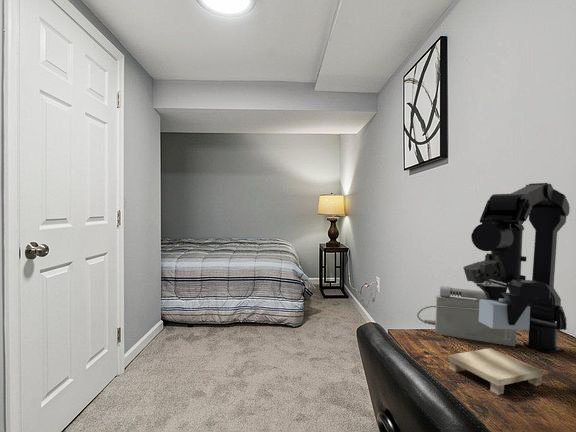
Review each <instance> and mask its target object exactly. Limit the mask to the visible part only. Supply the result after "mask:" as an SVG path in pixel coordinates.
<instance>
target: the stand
mask: <svg viewBox="0 0 576 432" xmlns="http://www.w3.org/2000/svg"><path fill="white" fill-rule="evenodd" d="M447 358H448V359H447V361H448V362H449V370H451V371H452V372H455V373H457V372H461V371H462V369H464V370H466V371H468V372H470V373H472V374H474V375H476V376H478V377H479V378H482V379H483V380H486V381H487V382H489V383H490V390H489V391H490V392H492V393H493V394H495V395H497V396H500V395H504V393H505V386H506V385H510V384H514V383H519V382H523V381H527V383H529V384H531V385H533V386H535V387H538V386H541V385H542V381H543V377H544V370H543V369H541V368H539V367H536V366H534V365H531V364H529V363H527V362H524V361H522V360H519V359H517V358H515V357H512V356H510V355H507V354H506V353H503V352H500V351H498V350H496V349H493V348H490V347H488V348H482V349H478V350H476V349H475V350H472V351H471V350H470V351H466V352H465V351H464V352H459V353H454V354H448V357H447Z"/></svg>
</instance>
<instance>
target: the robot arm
mask: <svg viewBox="0 0 576 432" xmlns="http://www.w3.org/2000/svg"><path fill="white" fill-rule="evenodd" d="M569 214H570V203H569V202H568V199H567V196H566V195H565V194H564V193H562V192H560V191H559V190H556V189H554V188H553V185H552V184H551V183H548V182H537V183H536V182H535V183H528V184H525V186H523V187H522V188H519V189H518V190H515V191H514V192H512V193H495V194H492V195H491V196H490V197H489V199H488V200H487V201H486V204H485V206H484V209H483V212H482V213H481V216H480V218H479V223H480V224H478V225H477V226H476V227H474V229H473V231H472V233H471V236H470V237H471V242H472V244H473V246H474V247H475V248H476V249H478V250H479V251H483V252H486V254H485V256H484V260H481V261H476V262H473V263H470V264H468V265H464V266H463V270H464V275H465V277H466V278H465V279H466V281H467V282H472V283H473V284H475V285H476V286H477V287H478V288H479V289H481V291H484V292H485V295H486V297H487V300H499V298H506V300H507V313H508V324H509V325H515V324H516V322H517V321H518V319H519V318H520V316H521V315H522V313H523V312H524V310H525V309H526V308H527V306H530V322H529V330H528V338H527V339H528V341H522V345H524V346H526V347H529V348H532V349H535V350H536V351H540V352H543V353H545V354H553V353H557V352H562V351H564V348H563V347H560V346H558V343H557V342H558V331H561V330H563V331H566V330H567V329H568V328H567V326H568V325H567V316H566V315H565V314H566V313H565V311H564V309H563V308H564V307H563V306H562V303H561V302H562V301H561V296H559V294H558V293H557V291H556V289H555V287H554V286H555V271H556V257H557V243H558V233H559V231H560V230H561V229H562V228H563V226H565V224H566V222H567V217H568V216H569ZM527 220H528V221H529V223H530V224H531V225H532V227H533V229H534V231H535V236H534V248H533V249H534V250H533V264H532V274H531V275H532V279H526V277H527V276H526V275H524V274H523V275H522V273H521V272H522V262H527V256H525V255H524V256H523V255H522V254H523V253H522V251H523V232H524V231H525V227H524V225H523V224H524V223H525V222H526V221H527ZM487 252H490V253H487ZM508 291H509V292H508Z"/></svg>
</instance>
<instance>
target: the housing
mask: <svg viewBox="0 0 576 432" xmlns="http://www.w3.org/2000/svg"><path fill="white" fill-rule="evenodd" d="M479 322H481V323H483V324H484V325H486V326H488V327H490V328H492V329H516V331H519V330H520V331H529V322H530V306H527V308H526V309H525V310H524V312H523V313H522V315H521V316H520V318H519V319H518V321H517V322H516V324H515V325H509V324H508V313H507V300H506V299H504V298H499V300H483V299H482V300H480V301H479Z"/></svg>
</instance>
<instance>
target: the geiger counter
mask: <svg viewBox="0 0 576 432" xmlns="http://www.w3.org/2000/svg"><path fill="white" fill-rule="evenodd" d="M504 299H506V298H504ZM480 300H487V297H486V295H485V292H484V291H483V290H478V289H477V290H476V289H468V288H467V289H466V288H457V287H451V286H449V285H439V294H437V295H436V296H435V305H427V306H425V307H422V308H421V309H420V310H418V312H417V315H416V316H417V319H418V320H419V321H421V322H423V324H426V325H427V324H428V325H432V326H434V328H435V329H434V334H435V335H439V334H440V335H441V336H446V337H453V338H459V339H467V340H473V341H478V342H479V341H480V342H484V343H490V344H498V345H502V344H503V345H504V346H508V347H516V340H517V339H516V338H517V330H516V329H492V328H490V327H488V326H486V325H484V324H483V323H481V322H479V301H480ZM429 308H435V315H434V316H435V320H433V319H424V320H423V319H421V318H420V316H419V315H420V314H421V313H422V312H423V310H426V309H429Z"/></svg>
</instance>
